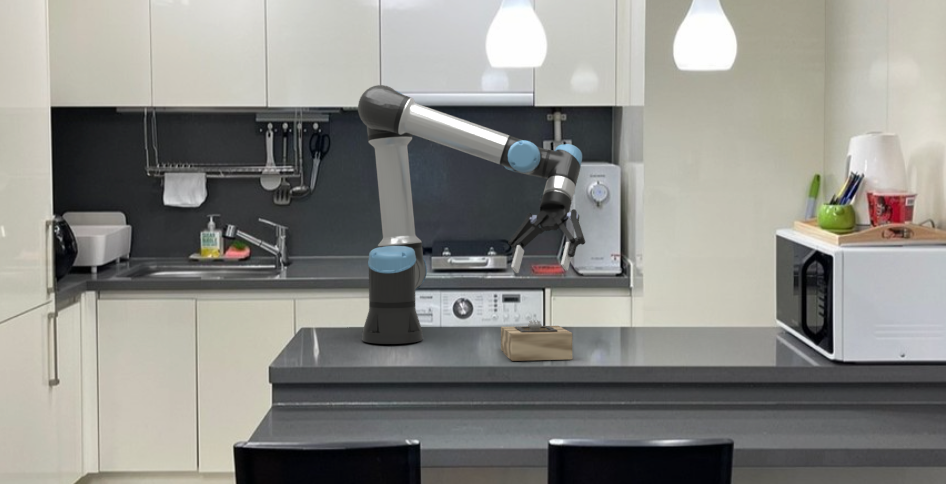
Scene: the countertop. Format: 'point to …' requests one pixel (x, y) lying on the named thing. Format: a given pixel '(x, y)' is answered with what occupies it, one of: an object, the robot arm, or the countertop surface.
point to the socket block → (536, 343)
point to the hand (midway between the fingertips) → (539, 268)
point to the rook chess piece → (534, 325)
